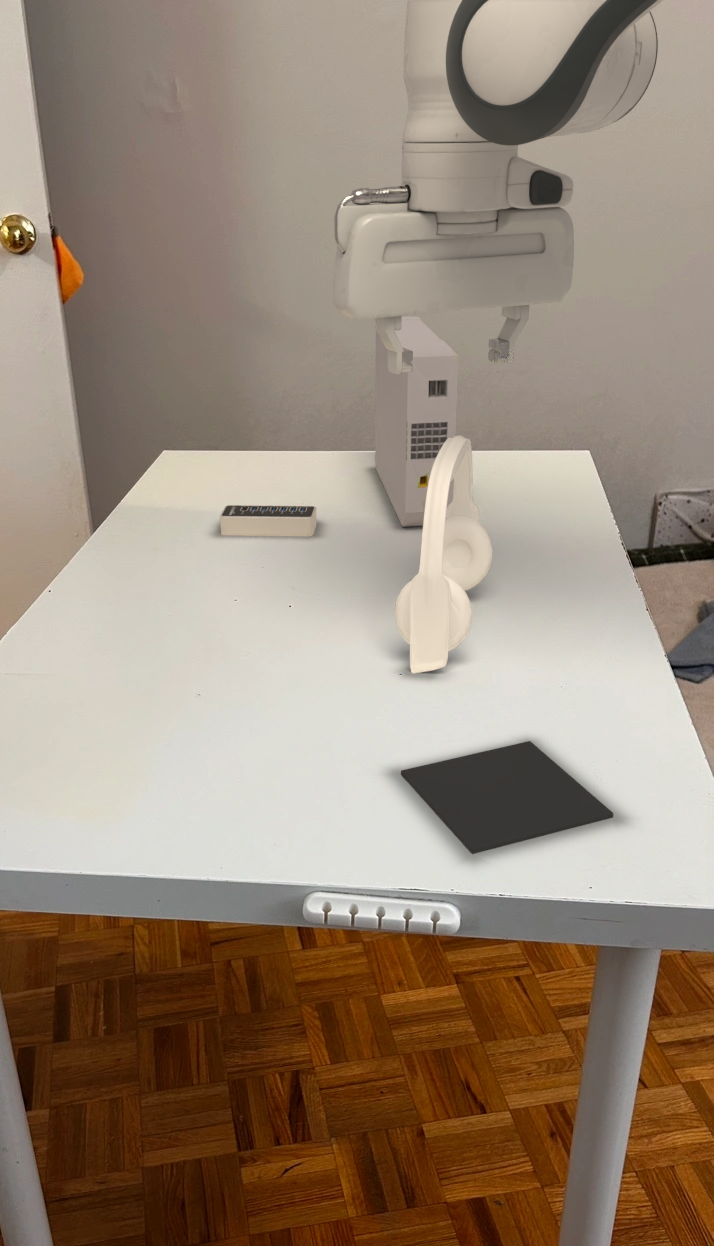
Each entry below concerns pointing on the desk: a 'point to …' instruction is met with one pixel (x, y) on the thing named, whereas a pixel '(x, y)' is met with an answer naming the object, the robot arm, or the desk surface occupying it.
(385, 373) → the game console
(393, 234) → the robot arm
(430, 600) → the headset
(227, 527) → the multiport hub
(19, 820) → the desk surface
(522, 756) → the desk mat
